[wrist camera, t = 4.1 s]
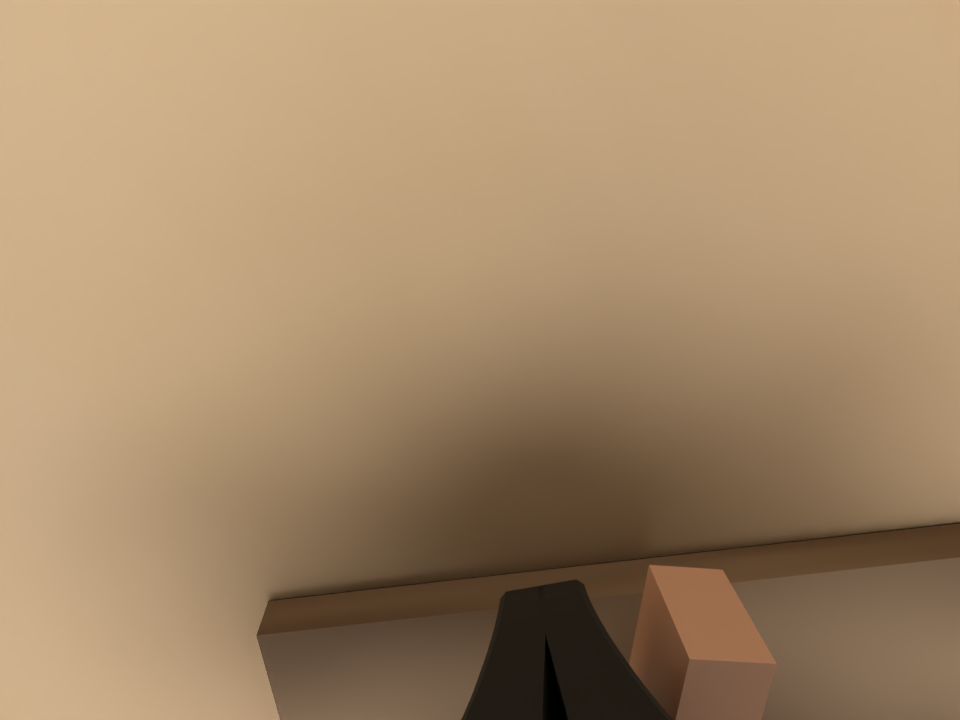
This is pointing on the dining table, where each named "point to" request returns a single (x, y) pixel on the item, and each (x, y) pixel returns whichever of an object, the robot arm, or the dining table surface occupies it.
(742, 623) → the cylinder with stick handle
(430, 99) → the dining table surface
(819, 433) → the dining table surface
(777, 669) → the board
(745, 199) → the dining table surface
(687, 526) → the dining table surface
